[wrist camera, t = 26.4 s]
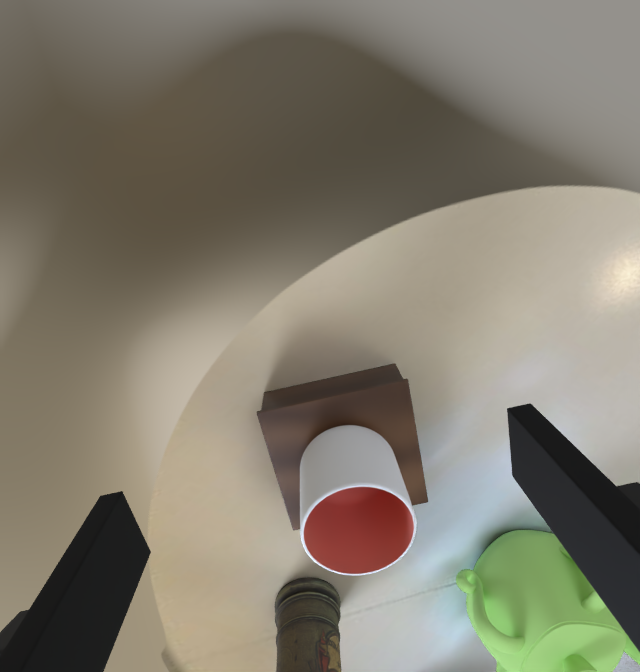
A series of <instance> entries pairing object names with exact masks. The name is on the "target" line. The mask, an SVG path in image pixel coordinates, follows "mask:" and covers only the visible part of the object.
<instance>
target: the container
mask: <svg viewBox="0 0 640 672" xmlns="http://www.w3.org/2000/svg"><path fill="white" fill-rule="evenodd" d="M275 613H276V615H275V622H276V626H277V637H276V644H277V671H276V672H341V661H340V646H339V642H340V633H339V628H338V623H339V621H340V598H339V595H338V593H337V591H336V590H335V588H334V587H333V586H332V585H331V584H329V583H328V582H326V581H323V580H320V579H316V578H302V579H298V580H295V581H293V582H290V583H289V584H287V585H286V586H285V587H283V588H282V590H281V591H280V592H279V594H278V596H277V598H276V602H275Z"/></svg>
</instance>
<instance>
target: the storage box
mask: <svg viewBox="0 0 640 672" xmlns="http://www.w3.org/2000/svg"><path fill="white" fill-rule="evenodd" d="M257 416H258V419H259V422H260V425H261V428H262V432H263V435H264V438H265V441H266V444H267V448H268V451H269V454H270V457H271V461H272V464H273V467H274V470H275V473H276V477H277V480H278V483H279V486H280V490H281V493H282V496H283V499H284V502H285V506H286V509H287V512H288V515H289V519H290V522H291V525H292V528H293V530H298V529H300V463H301V459H302V456H303V453H304V451H305V450H306V448H307V446H308V445H309V444H310V442H311V441H312V440H313V439H314V438H316V437H317V436H318V435H320V434H321V433H323V432H324V431H326V430H328V429H331V428H334V427H338V426H343V425H356V426H361V427H365V428H368V429H371V430H373V431H375V432H376V433H378V434H379V435H381V436H382V437H383V438H384V439H385V440H386V441H387V442H388V444H389V445H390V446H391V448H392V450H393V452H394V455H395V458H396V461H397V464H398V466H399V469H400V472H401V475H402V478H403V481H404V484H405V486H406V489H407V492H408V495H409V498H410V501H411V504H412V505H417V504H422V503H426V502H428V498H427V492H426V486H425V480H424V474H423V468H422V462H421V455H420V449H419V443H418V437H417V431H416V425H415V419H414V413H413V407H412V401H411V395H410V389H409V383H408V379H403V378H402V376H401V374H400V372H399V370H398V368H397V366H396V364H391V365H387V366H382V367H378V368H373V369H369V370H364V371H360V372H355V373H350V374H346V375H341V376H337V377H332V378H328V379H323V380H319V381H314V382H310V383H305V384H300V385H296V386H291V387H287V388H282V389H278V390H273V391H269V392H264V397H263V403H262V409H261V411H257Z"/></svg>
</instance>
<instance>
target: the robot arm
mask: <svg viewBox="0 0 640 672" xmlns="http://www.w3.org/2000/svg"><path fill="white" fill-rule="evenodd" d="M507 412H508V424H509V437H510V450H511V462H512V475H513V477H514V479H515V480H516V482H517V483H518V484H519V486H520V487H521V488H522V490H523V491H524V493H525V494H526V495H527V497H528V498H529V500H530V501H531V502H532V504H533V505H534V506H535V508H536V509H537V511H538V512H539V513H540V515H541V516H542V518H543V519H544V520H545V522H546V523H547V525H548V526H549V527H550V529H551V530H552V531H553V533H554V534H555V536H556V537H557V538H558V540H559V541H560V543H561V544H562V545H563V547H564V548H565V549H566V551H567V552H568V554H569V555H570V556H571V558H572V559H573V561H574V562H575V563H576V565H577V566H578V568H579V569H580V570H581V572H582V573H583V574H584V576H585V577H586V579H587V580H588V581H589V583H590V584H591V586H592V587H593V588H594V590H595V591H596V592H597V594H598V595H599V597H600V598H601V599H602V601H603V602H604V604H605V605H606V606H607V608H608V609H609V611H610V612H611V613H612V615H613V616H614V617H615V619H616V620H617V622H618V623H619V624H620V626H621V627H622V629H623V630H624V631H625V633H626V634H627V635H628V637H629V638H630V640H631V641H632V642H633V644H634V645H635V647H636V648H637V649H638V651H639V652H640V484H639V483H637V482H635V483H631V484H626V485H621V486H615V485H614V484H613V483H612V482H611V481H610V480H609V479H608V478H607V477H606V476H605V475H604V474H603V473H602V472H601V471H600V470H599V469H598V468H597V467H596V466H595V465H594V464H593V463H592V462H590V461H589V460H588V459H587V458H586V457H585V456H584V455H583V454H582V453H581V452H580V451H579V450H578V449H577V448H576V447H575V446H574V445H573V444H572V443H571V442H570V441H569V440H568V439H567V438H566V437H565V436H564V435H563V434H562V433H560V432H559V431H558V430H557V429H556V428H555V427H554V426H553V425H552V424H551V423H550V422H549V421H548V420H547V419H546V418H545V417H544V416H543V415H542V414H541V413H540V412H539V411H538V410H537V409H536V408H535V407H534V406H533V405H531V404H526V405H521V406H516V407H512V408H507ZM150 553H151V552H150V549H149V547H148V545H147V543H146V541H145V539H144V537H143V535H142V533H141V530H140V528H139V526H138V524H137V522H136V520H135V518H134V515H133V513H132V511H131V509H130V507H129V505H128V503H127V500H126V498H125V496H124V494H123V492H122V491H121V492H117V493H112V494H107V495H103V496H100V497H99V499H98V501H97V502H96V504H95V506H94V507H93V509H92V510H91V512H90V513H89V515H88V517H87V518H86V520H85V521H84V523H83V525H82V526H81V528H80V529H79V531H78V533H77V534H76V536H75V537H74V539H73V541H72V542H71V544H70V545H69V547H68V549H67V550H66V552H65V553H64V555H63V557H62V558H61V560H60V562H59V563H58V565H57V566H56V568H55V569H54V571H53V572H52V574H51V576H50V577H49V579H48V580H47V582H46V584H45V585H44V587H43V588H42V590H41V592H40V593H39V595H38V596H37V598H36V600H35V601H34V603H33V605H32V606H31V608H30V609H29V610H26V611H21V612H19V613H18V614H17V616H16V617H15V618H14V619H13V620H12V621H11V622H10V623H9V624H8V625H7V626H6V627H5V628H4V629H3V630H2V631H1V632H0V672H103V671H104V669H105V666H106V663H107V661H108V659H109V656H110V653H111V651H112V649H113V646H114V643H115V641H116V638H117V636H118V633H119V631H120V628H121V626H122V623H123V621H124V618H125V616H126V613H127V611H128V608H129V606H130V603H131V601H132V598H133V596H134V593H135V591H136V588H137V586H138V583H139V581H140V578H141V575H142V573H143V570H144V568H145V565H146V563H147V560H148V558H149V555H150Z"/></svg>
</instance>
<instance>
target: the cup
mask: <svg viewBox="0 0 640 672" xmlns="http://www.w3.org/2000/svg"><path fill="white" fill-rule="evenodd" d="M416 530H417V520H416V515H415V512H414V509H413V506H412V504H411V501H410V498H409V495H408V492H407V489H406V486H405V484H404V481H403V478H402V475H401V472H400V469H399V466H398V464H397V461H396V458H395V455H394V452H393V450H392V448H391V446H390V445H389V444H388V442H387V441H386V440H385V439H384V438H383V437H382V436H381V435H379V434H378V433H376V432H375V431H373V430H371V429H368V428H365V427H361V426H356V425H343V426H338V427H334V428H331V429H328V430H326V431H324V432H323V433H321V434H320V435H318V436H317V437H316V438H314V439H313V440H312V441H311V442H310V444H309V445H308V446H307V448H306V450H305V451H304V453H303V456H302V459H301V463H300V537H301V542H302V545H303V547H304V549H305V551H306V553H307V554H308V555H309V557H310V558H311V559H312V560H313V561H314V562H315V563H317V564H318V565H319V566H321V567H323V568H325V569H327V570H329V571H331V572H334V573H338V574H343V575H366V574H371V573H375V572H378V571H381V570H383V569H385V568H387V567H389V566H391V565H393V564H394V563H396V562H397V561H398V560H399V559H401V558H402V557H403V556H404V555H405V554H406V552H407V551H408V550H409V548H410V547H411V545H412V543H413V541H414V538H415V535H416Z"/></svg>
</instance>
